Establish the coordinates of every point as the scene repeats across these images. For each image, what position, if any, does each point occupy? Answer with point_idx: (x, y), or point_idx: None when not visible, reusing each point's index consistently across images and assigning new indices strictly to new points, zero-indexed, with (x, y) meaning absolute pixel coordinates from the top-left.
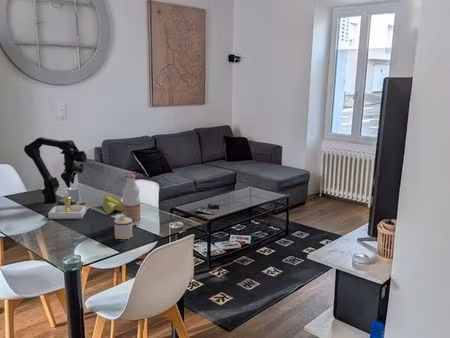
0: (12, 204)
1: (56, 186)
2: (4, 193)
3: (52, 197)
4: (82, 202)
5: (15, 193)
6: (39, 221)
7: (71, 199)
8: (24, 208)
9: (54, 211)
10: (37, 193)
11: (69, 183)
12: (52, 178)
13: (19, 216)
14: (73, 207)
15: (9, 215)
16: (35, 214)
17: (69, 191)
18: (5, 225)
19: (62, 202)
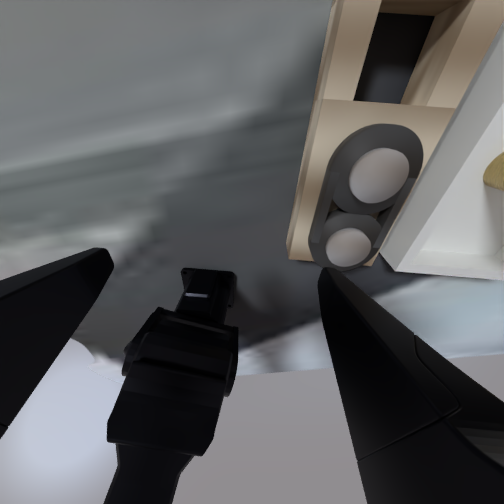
0: (237, 365)
1: (189, 346)
2: None
3: (218, 299)
4: (358, 59)
5: None
6: (496, 286)
7: (351, 185)
8: (285, 341)
9: (428, 254)
10: (106, 333)
11: (399, 327)
12: (169, 451)
13: None
14: (491, 136)
15: None
16: None
17: (7, 236)
18: (455, 356)
19: (370, 241)
